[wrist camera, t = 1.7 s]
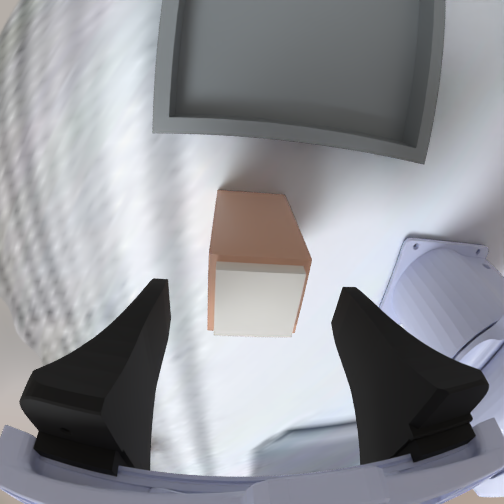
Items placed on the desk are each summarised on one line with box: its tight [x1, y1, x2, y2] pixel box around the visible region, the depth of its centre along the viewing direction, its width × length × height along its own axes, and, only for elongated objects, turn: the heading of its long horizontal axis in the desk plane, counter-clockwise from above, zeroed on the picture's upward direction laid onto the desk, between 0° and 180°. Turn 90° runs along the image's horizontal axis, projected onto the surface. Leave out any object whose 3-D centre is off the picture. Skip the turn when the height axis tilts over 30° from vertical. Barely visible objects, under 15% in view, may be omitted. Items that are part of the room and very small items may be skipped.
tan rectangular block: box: [208, 190, 312, 337], centre depth 16 cm, size 4×4×8 cm
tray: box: [152, 0, 445, 164], centre depth 12 cm, size 15×15×2 cm
